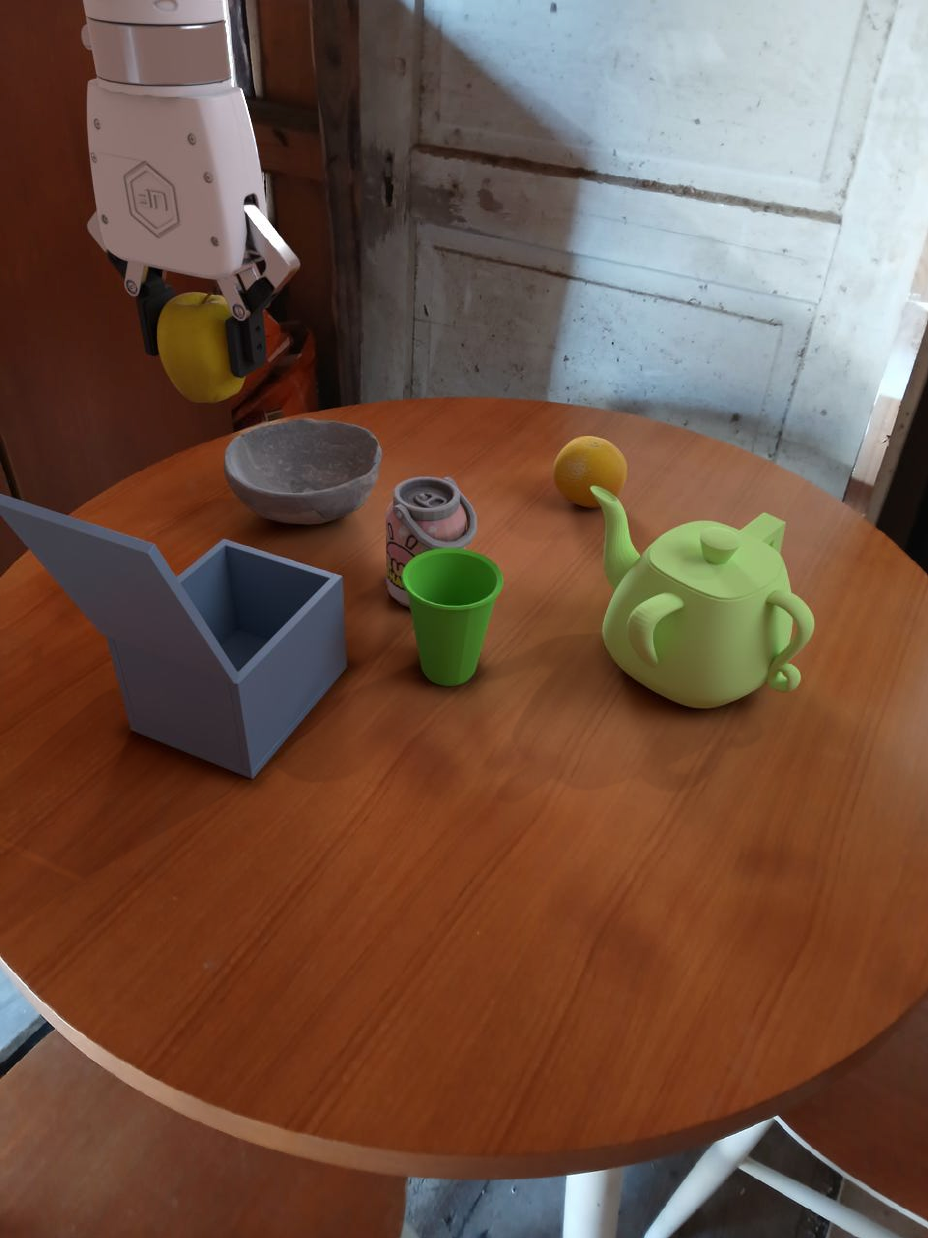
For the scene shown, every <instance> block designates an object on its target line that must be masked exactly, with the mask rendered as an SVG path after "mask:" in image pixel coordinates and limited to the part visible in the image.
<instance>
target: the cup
mask: <svg viewBox="0 0 928 1238" xmlns="http://www.w3.org/2000/svg"><path fill="white" fill-rule="evenodd" d="M401 579H402V585H403V587H404V589H405V590H406V592H407V593H408V599H409V604H410V608H409V609H410V614H411V619H412V625H413V630H414V635H415V640H416V647H417V652H418V656H419V662H420V668H421V671H422V673H423V674H424V675H425V677H426V678H427V679H428V680H429V681H431V682H432V683H433V684H436V685H439V686H443V687H455V686H459V685H463V684H464V683H466V682H468V681H469V680H470V679H471V678H472V676H473V675H474V674H475V673H476V671H477V666H478V663H479V660H480V655H481V653H482V649H483V645H484V641H485V638H486V635H487V631H488V627H489V624H490V621H491V617H492V614H493V610H494V606H495V603H496V599H497V596H499V595H500V593H501V591H502V590H503V587H504V581H505V580H504V577H503V573H502V571H501V569H500V568H499V566H498V565H497V564H496V563H495V561H493V560H492V559H491V558H490V557H488V556H486V555H484V554H482V553H479V552H477V551H473V550H470V549H466V548H465V549H460V548H441V549H434V550H430V551H426V552H424V553H422V554H419V555H417V556H416V557H414V558H413V559H412V560H410V561H409V562H408V564H407V565H406V566H405V568H404V569H403V572H402V576H401Z"/></svg>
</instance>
